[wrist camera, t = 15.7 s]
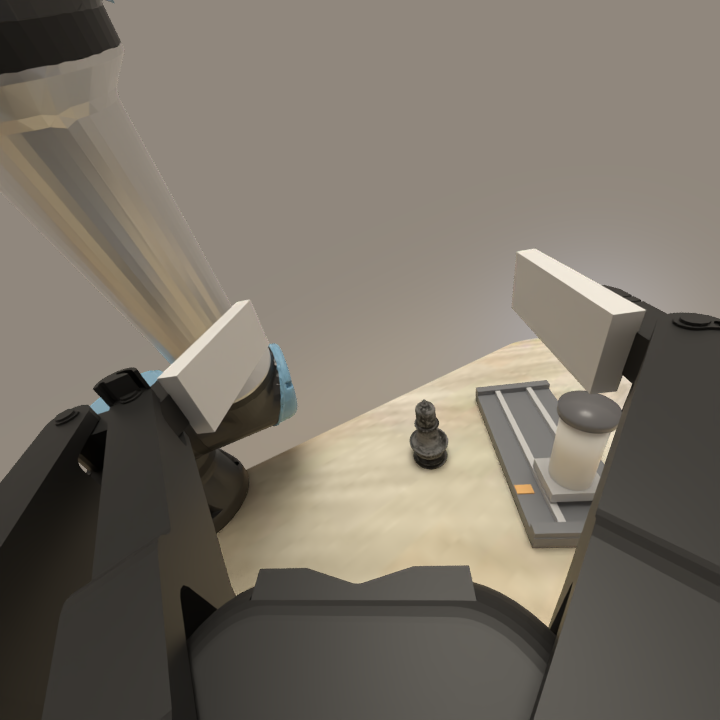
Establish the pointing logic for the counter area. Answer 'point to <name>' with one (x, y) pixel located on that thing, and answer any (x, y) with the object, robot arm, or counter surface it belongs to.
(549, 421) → the console
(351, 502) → the counter surface
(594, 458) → the fader
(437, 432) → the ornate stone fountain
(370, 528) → the counter surface
